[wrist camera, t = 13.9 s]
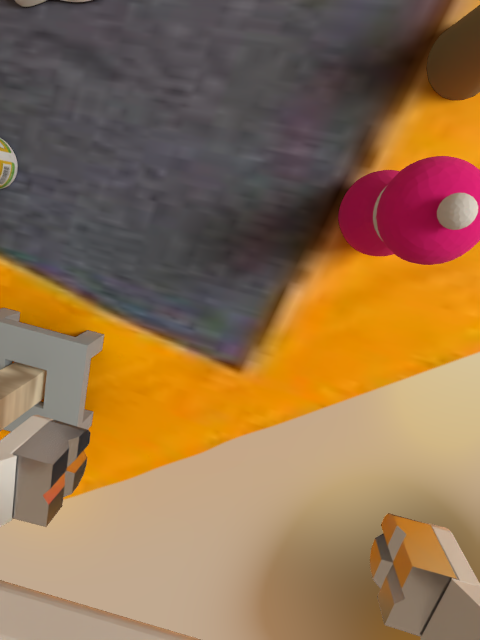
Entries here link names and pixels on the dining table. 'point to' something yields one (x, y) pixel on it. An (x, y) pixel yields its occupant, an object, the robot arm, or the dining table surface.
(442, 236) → the pepper mill
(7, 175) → the supplement bottle
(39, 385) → the maple peg
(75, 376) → the collar stand
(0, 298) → the dining table surface
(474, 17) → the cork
